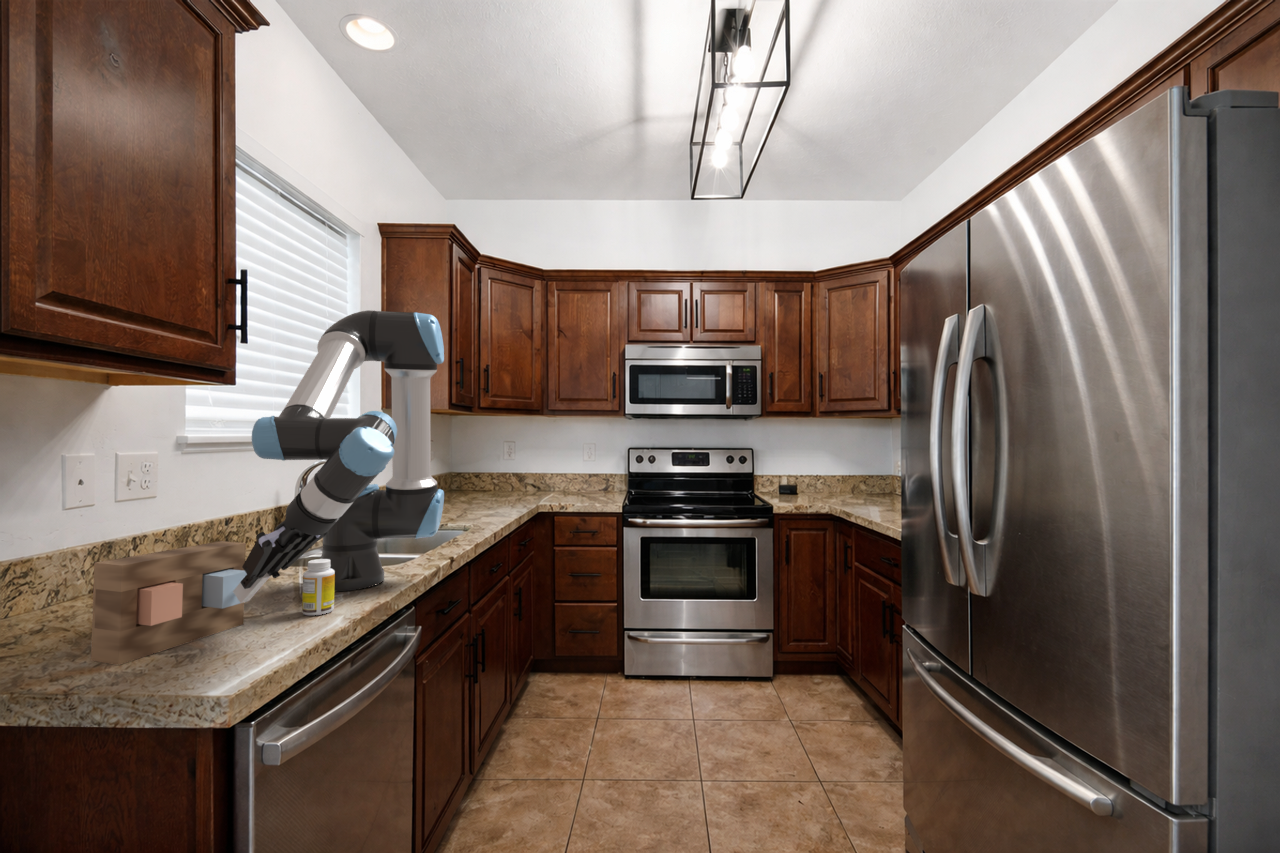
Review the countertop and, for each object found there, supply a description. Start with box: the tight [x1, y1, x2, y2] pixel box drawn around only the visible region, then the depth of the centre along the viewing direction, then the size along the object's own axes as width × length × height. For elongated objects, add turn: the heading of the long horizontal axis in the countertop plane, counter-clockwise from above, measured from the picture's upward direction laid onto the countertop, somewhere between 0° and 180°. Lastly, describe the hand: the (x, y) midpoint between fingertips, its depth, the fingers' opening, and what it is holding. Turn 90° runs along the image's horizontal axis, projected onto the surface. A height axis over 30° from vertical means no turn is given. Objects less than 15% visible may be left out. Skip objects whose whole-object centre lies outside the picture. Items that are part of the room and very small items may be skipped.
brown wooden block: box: [90, 540, 247, 666], centre depth 96 cm, size 20×6×15 cm, turn 164°
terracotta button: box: [136, 582, 183, 626], centre depth 91 cm, size 5×7×5 cm, turn 74°
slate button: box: [202, 569, 247, 609], centre depth 100 cm, size 5×7×5 cm, turn 74°
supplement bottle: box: [301, 558, 335, 617], centre depth 113 cm, size 6×6×10 cm
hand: (240, 596), depth 99 cm, fingers closed
